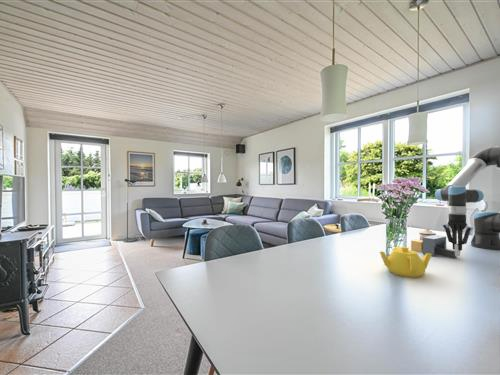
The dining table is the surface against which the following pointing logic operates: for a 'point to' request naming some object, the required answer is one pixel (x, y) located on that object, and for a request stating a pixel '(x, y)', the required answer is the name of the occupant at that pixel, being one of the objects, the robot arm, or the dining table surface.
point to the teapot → (406, 262)
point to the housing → (433, 243)
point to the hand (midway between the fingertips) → (457, 255)
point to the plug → (418, 246)
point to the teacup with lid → (426, 233)
